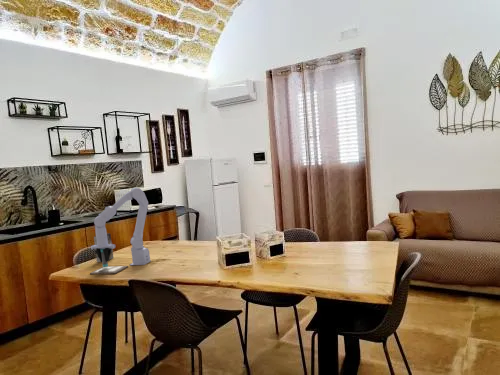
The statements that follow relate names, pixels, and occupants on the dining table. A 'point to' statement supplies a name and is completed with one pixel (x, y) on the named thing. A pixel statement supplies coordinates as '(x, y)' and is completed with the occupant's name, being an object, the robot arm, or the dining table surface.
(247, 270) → the dining table surface
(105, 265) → the marker
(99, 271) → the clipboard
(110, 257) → the coffee box
